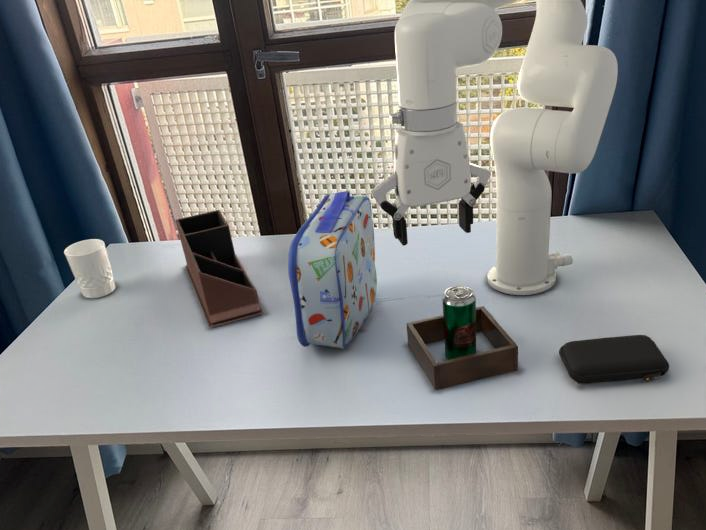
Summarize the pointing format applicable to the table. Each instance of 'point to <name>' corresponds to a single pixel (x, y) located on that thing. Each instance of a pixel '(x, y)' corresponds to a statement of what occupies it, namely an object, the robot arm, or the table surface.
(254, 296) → the desk organizer
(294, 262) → the lunch box
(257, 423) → the table surface
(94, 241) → the white cup
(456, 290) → the soda can
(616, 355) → the carrying case
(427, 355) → the crate
